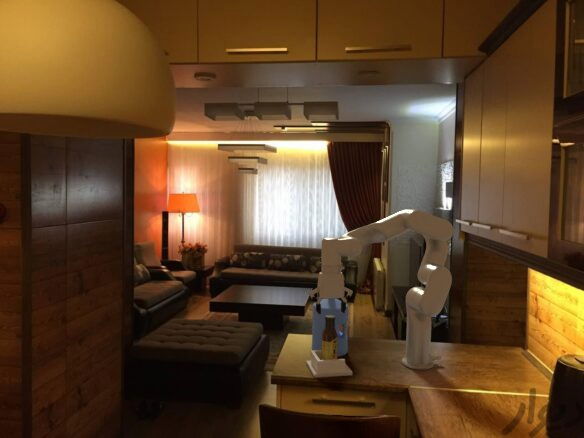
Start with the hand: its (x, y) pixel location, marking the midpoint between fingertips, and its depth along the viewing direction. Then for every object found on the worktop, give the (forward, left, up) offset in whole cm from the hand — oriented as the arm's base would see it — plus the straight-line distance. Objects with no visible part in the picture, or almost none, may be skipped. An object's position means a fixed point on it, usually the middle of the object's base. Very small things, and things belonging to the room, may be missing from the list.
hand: (331, 312), depth 179 cm
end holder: (0, 0, -23) cm, 23 cm away
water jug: (-5, -19, -23) cm, 30 cm away
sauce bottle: (0, 0, -22) cm, 22 cm away
